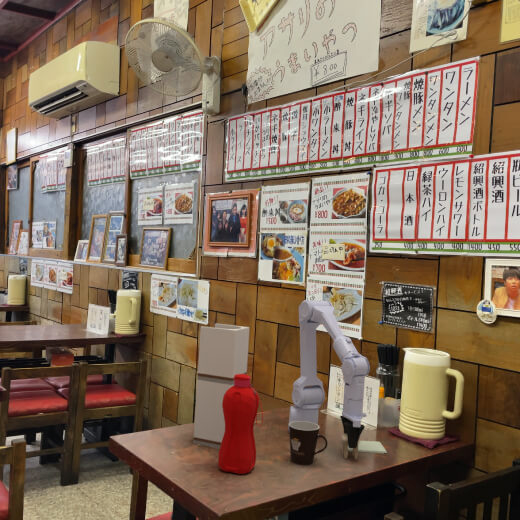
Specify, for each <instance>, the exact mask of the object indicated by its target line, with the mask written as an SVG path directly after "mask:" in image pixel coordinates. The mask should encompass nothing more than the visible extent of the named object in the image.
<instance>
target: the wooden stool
mask: <svg viewBox="0 0 520 520" xmlns="http://www.w3.org/2000/svg"><path fill="white" fill-rule="evenodd" d="M360 441H361V436H360V437H359V441H358V444H359V443H360ZM341 442H342V456H343V458H344V460H348V454H349V453H348V452H349V451H348V437H347V433H346V434H344V433H343V434H341ZM358 444H357V447H356V448H353V452H352V456H354V457H353V458H354V460H358V457H359V456H358V455H359V452H358Z"/></svg>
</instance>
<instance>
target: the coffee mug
mask: <svg viewBox="0 0 520 520" xmlns="http://www.w3.org/2000/svg"><path fill="white" fill-rule="evenodd" d="M288 424H289V429H288V432H289V433H288V434H289V450H290V451H289V454H290V462H291V463H292V464H295V465H298V466H299V465H300V466H311V465H313V464H314V460H315V455H317V454H319V453H322V452H323V451H325V450H326V448H327V447H328V445H329V443H328V439H327V438H326V437H325V436H324V435H322V434H319V431H320V428H321V427H320V425H319V424H318V425H317V424H315V423H312V422H307V421H294V422H291V423H289V422H288ZM318 434H319V435H318ZM320 438H322V439H323V440H324V442H325V445H324V447H323V448H322V449H319V450H318V451H316V449H317V445H318V440H319V439H320Z"/></svg>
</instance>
